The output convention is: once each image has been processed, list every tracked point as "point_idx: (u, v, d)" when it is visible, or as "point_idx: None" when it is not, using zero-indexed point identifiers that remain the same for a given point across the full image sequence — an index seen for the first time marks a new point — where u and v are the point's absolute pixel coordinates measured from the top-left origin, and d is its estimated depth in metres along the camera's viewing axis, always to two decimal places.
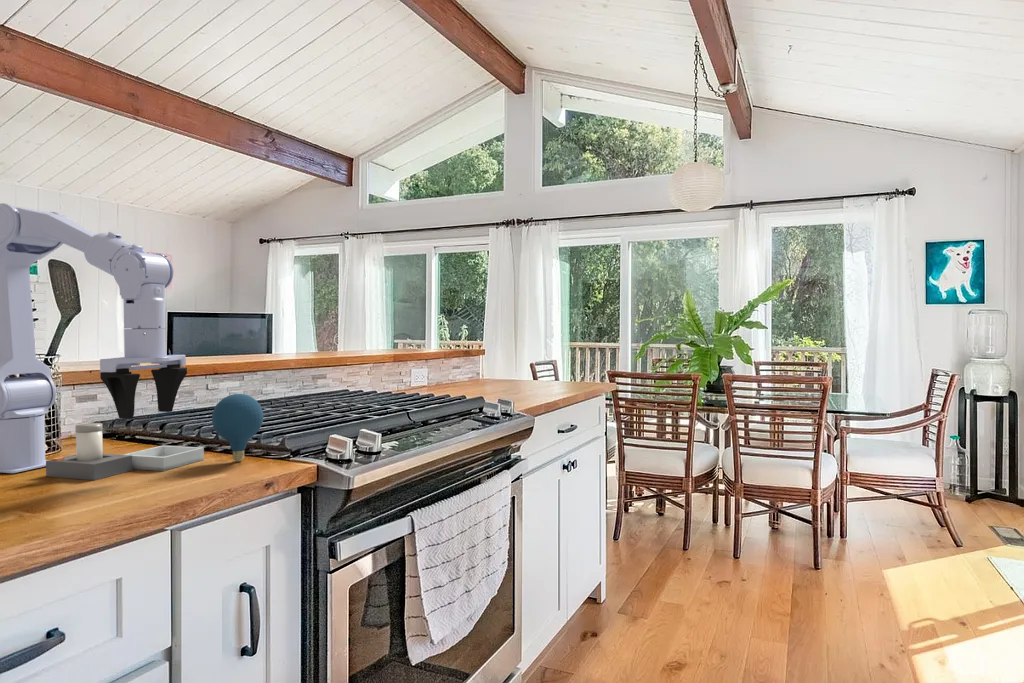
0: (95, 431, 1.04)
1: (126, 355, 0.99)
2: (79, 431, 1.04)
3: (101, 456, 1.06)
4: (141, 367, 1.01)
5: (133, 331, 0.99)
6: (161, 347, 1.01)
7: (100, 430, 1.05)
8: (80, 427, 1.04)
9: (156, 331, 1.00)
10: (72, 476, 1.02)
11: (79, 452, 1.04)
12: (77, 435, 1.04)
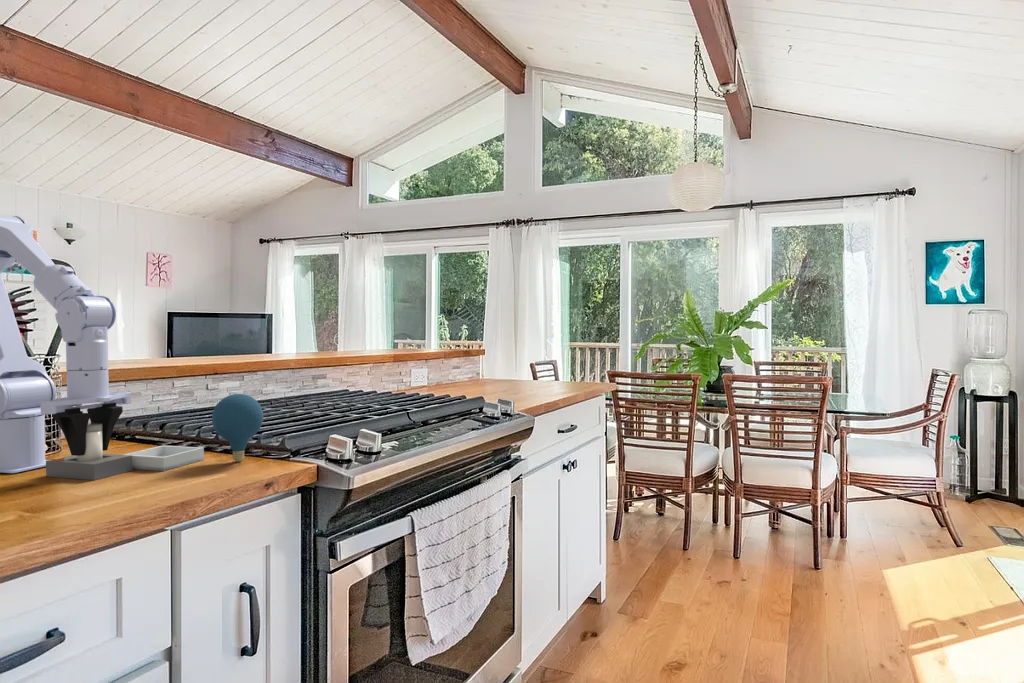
0: (95, 431, 1.04)
1: (68, 396, 1.03)
2: None
3: (101, 456, 1.06)
4: (83, 407, 1.04)
5: (75, 373, 1.02)
6: (103, 388, 1.05)
7: (100, 430, 1.05)
8: None
9: (98, 372, 1.04)
10: (72, 476, 1.02)
11: None
12: None
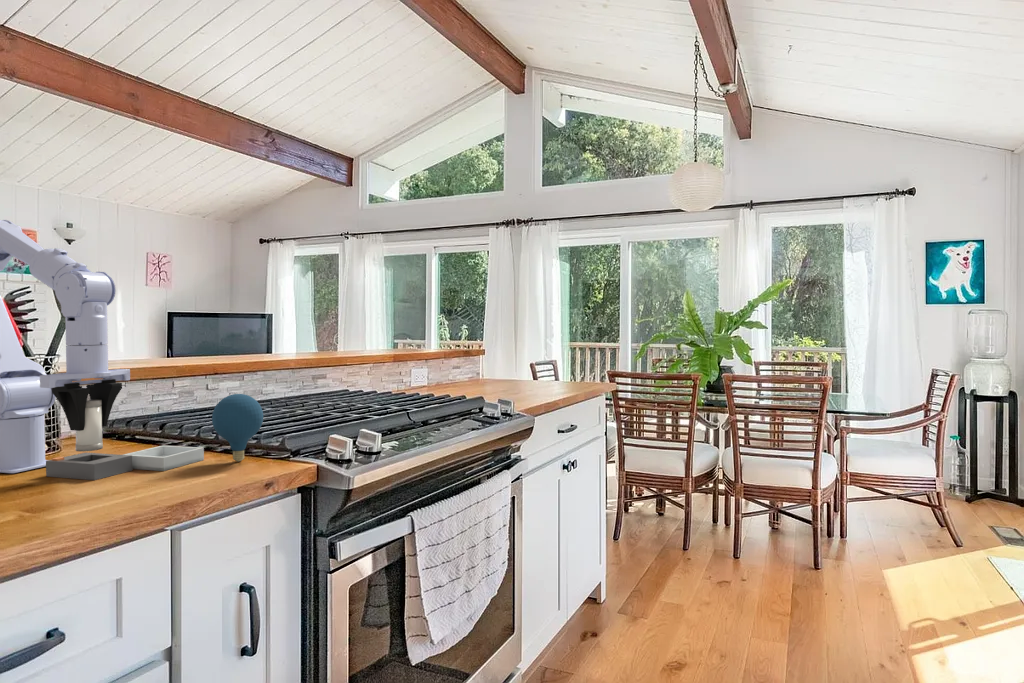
0: (94, 406, 1.04)
1: (67, 371, 1.03)
2: None
3: (100, 432, 1.06)
4: (83, 382, 1.04)
5: (74, 348, 1.02)
6: (103, 363, 1.05)
7: (99, 406, 1.05)
8: None
9: (97, 347, 1.04)
10: (72, 476, 1.02)
11: None
12: None
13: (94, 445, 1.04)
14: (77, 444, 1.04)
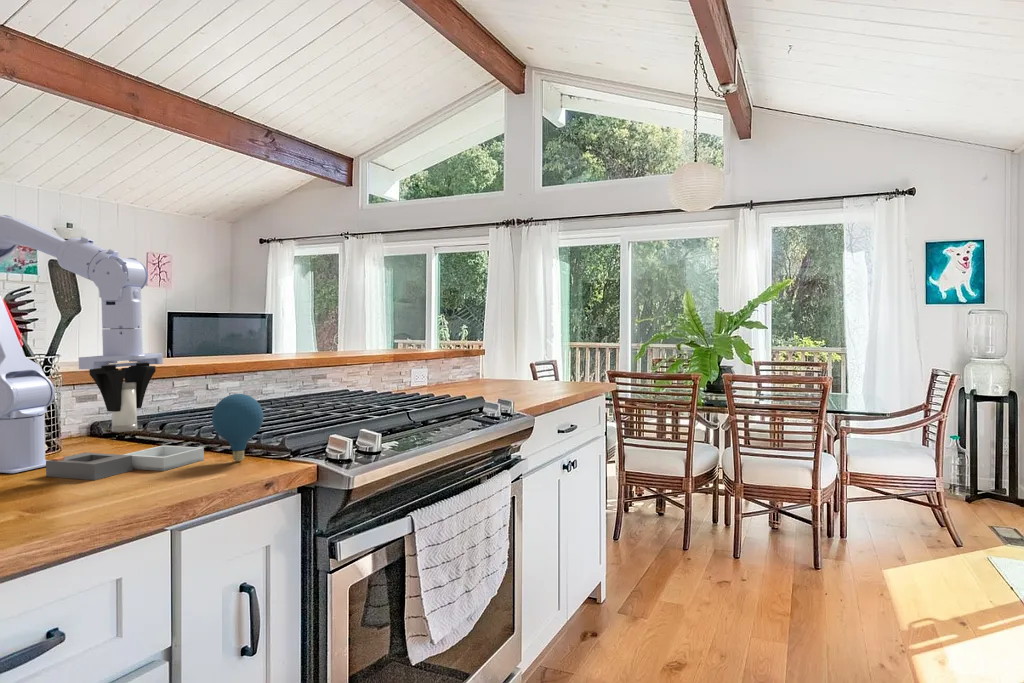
0: (130, 388, 1.07)
1: (104, 353, 1.06)
2: None
3: (135, 413, 1.09)
4: (119, 365, 1.07)
5: (110, 331, 1.05)
6: (138, 346, 1.08)
7: (134, 388, 1.08)
8: None
9: (132, 331, 1.07)
10: (72, 476, 1.02)
11: None
12: None
13: (130, 426, 1.08)
14: (113, 425, 1.07)
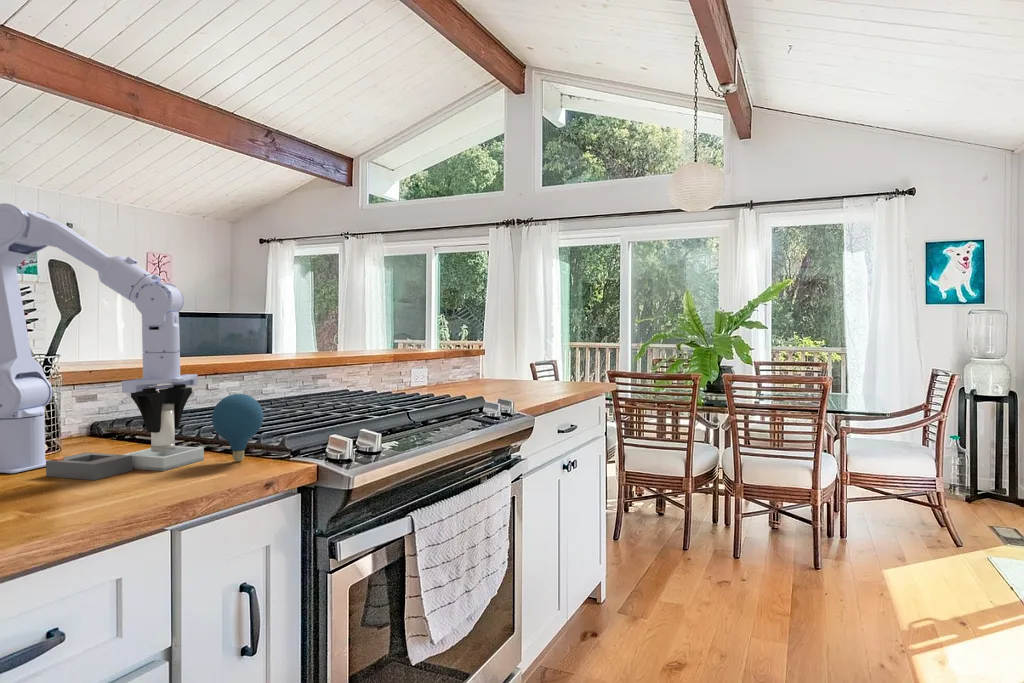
0: (169, 409, 1.12)
1: (145, 376, 1.10)
2: None
3: (173, 433, 1.13)
4: (158, 387, 1.11)
5: (151, 355, 1.09)
6: (176, 369, 1.12)
7: (173, 409, 1.12)
8: None
9: (171, 354, 1.11)
10: (72, 476, 1.02)
11: None
12: None
13: (169, 446, 1.12)
14: (153, 445, 1.11)
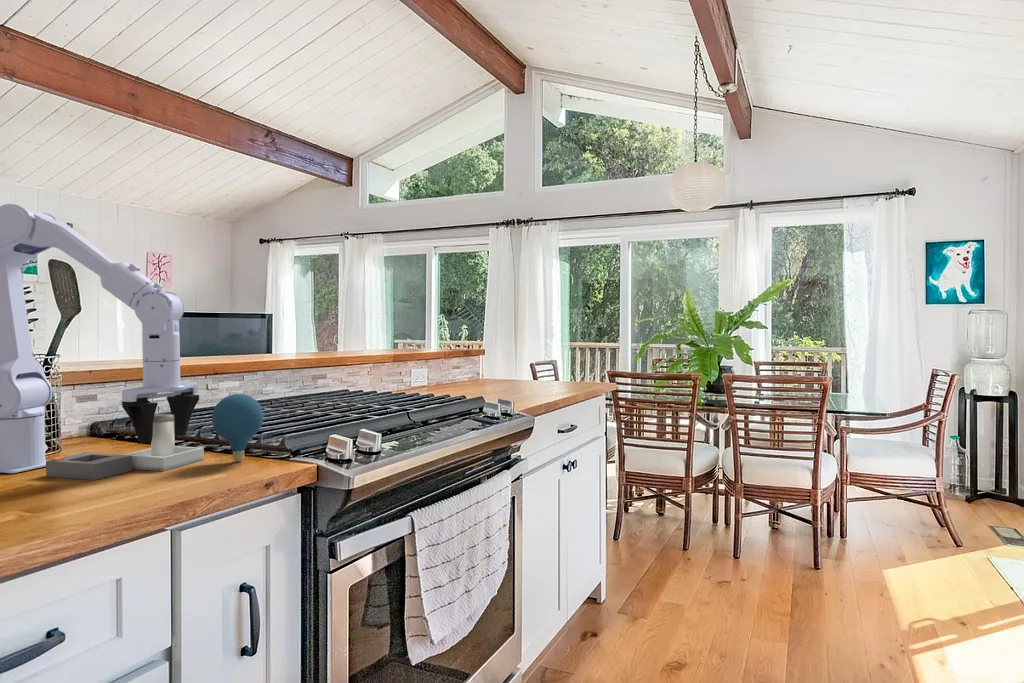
0: (169, 420, 1.12)
1: (145, 385, 1.10)
2: (155, 421, 1.11)
3: (174, 444, 1.13)
4: (158, 396, 1.11)
5: (151, 363, 1.09)
6: (176, 378, 1.12)
7: (173, 420, 1.13)
8: (156, 417, 1.11)
9: (172, 363, 1.11)
10: (72, 476, 1.02)
11: (154, 440, 1.11)
12: (153, 425, 1.11)
13: None
14: None
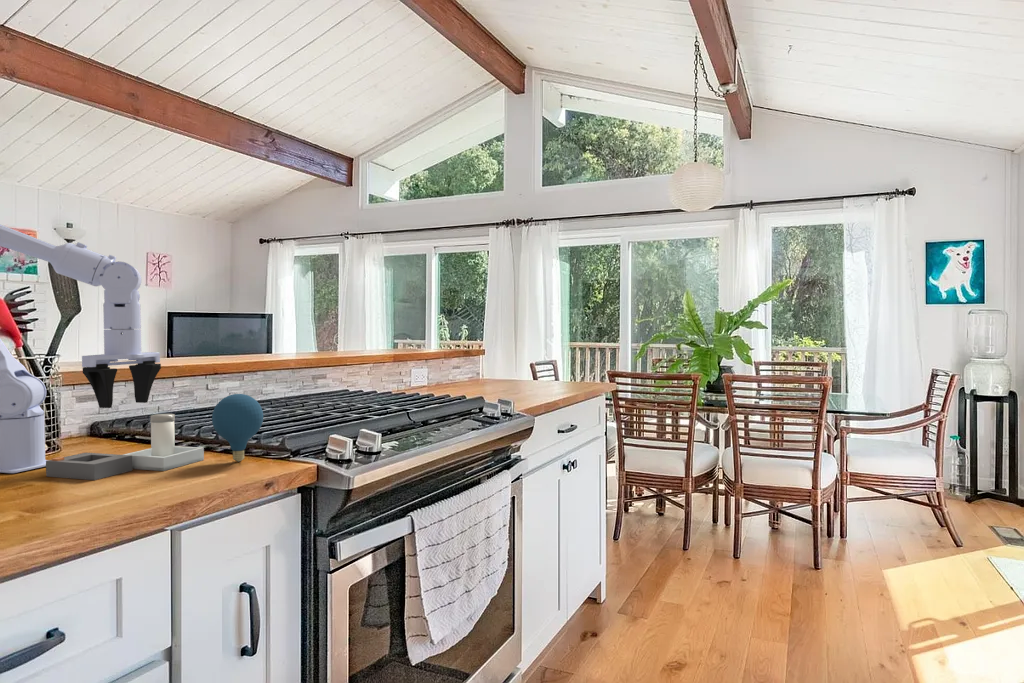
0: (169, 421, 1.12)
1: (105, 352, 1.13)
2: (155, 421, 1.10)
3: (174, 444, 1.13)
4: (119, 363, 1.14)
5: (111, 331, 1.13)
6: (137, 346, 1.15)
7: (173, 420, 1.12)
8: (156, 417, 1.10)
9: (132, 331, 1.14)
10: (72, 476, 1.02)
11: (154, 440, 1.11)
12: (153, 425, 1.11)
13: None
14: None
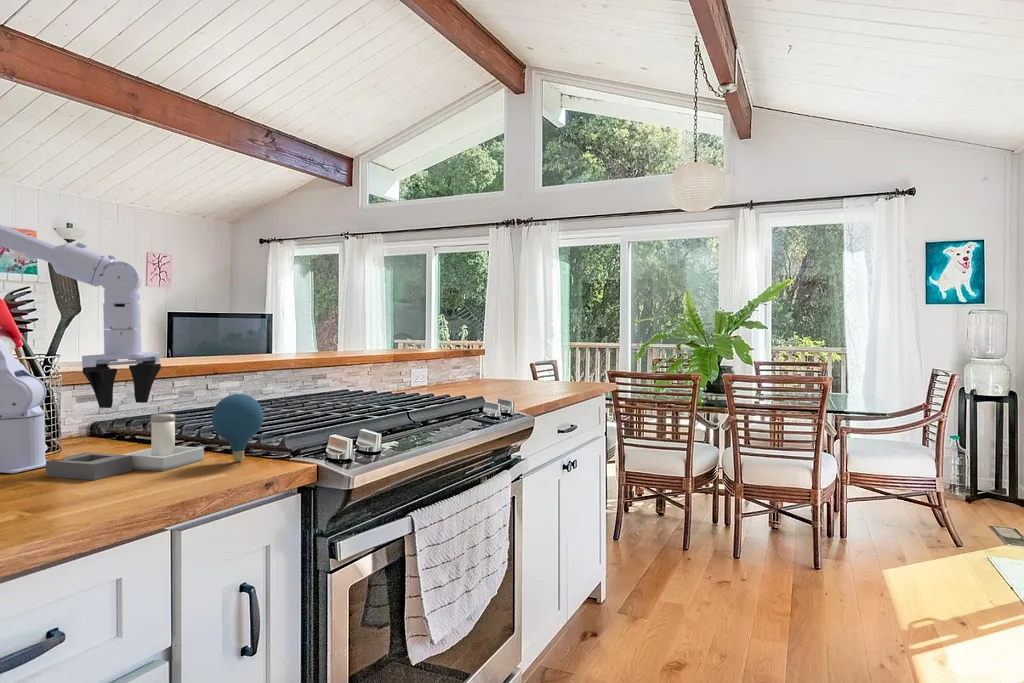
0: (170, 420, 1.12)
1: (105, 352, 1.13)
2: (156, 421, 1.11)
3: (174, 444, 1.13)
4: (119, 363, 1.14)
5: (111, 331, 1.13)
6: (137, 346, 1.15)
7: (174, 420, 1.13)
8: (157, 417, 1.11)
9: (132, 331, 1.14)
10: (72, 476, 1.02)
11: (155, 440, 1.11)
12: (153, 424, 1.11)
13: None
14: None
